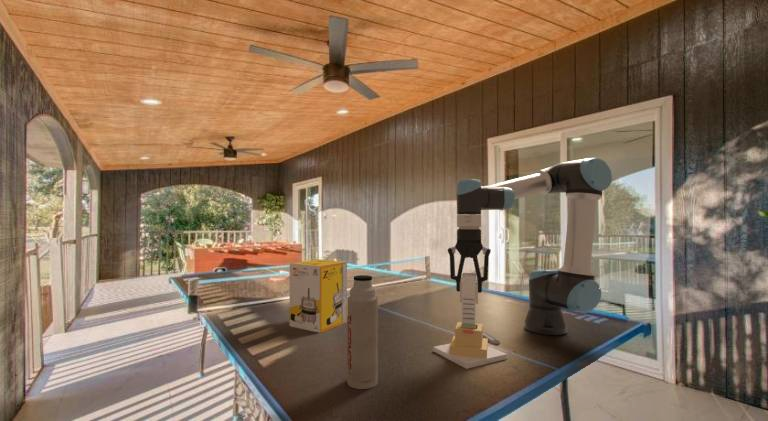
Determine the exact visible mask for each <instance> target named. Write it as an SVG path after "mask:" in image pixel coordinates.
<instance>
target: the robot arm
mask: <svg viewBox="0 0 768 421" xmlns="http://www.w3.org/2000/svg"><path fill="white" fill-rule="evenodd" d="M612 181H613V175H612V171H611V168H610V166H609V165H608V163H607V162H606V161H605V160H604V159H602V158H600V157H586V158H585V157H584V158H583V159H575V160H571V161H570V160H569V161H564V162H559V163H557V164H553V165H551V166H549V167H546V168H543V169H538V170H536V171H535V172H534V173H533V174H529V175H525V176H521V177H518V178H517V177H516V178H513V179H509V180H505V181H504V180H503V181H500V182H496V183H493V184H488V185H484V186H483V185H482V181H481V180H480V179H476V178H465V179H459V180H458V181H457V183H456V184H457V186H456V227H457V228H458V229H457V230H456V243H455V246H452V247H449V248H447V253H448V254H449V272H450V279H451V280H454V281H455V283H456V284H455V285H456V288H455V289H456V292H458V293H459V303H461V304H462V274H463V270H464V267H465V266H464V265H465V260H466V259H467V258H470V259H472V262H473V265H474V266H473V267H474V271H475V273H476V282H475V304H476V305H478V304H479V293H481V294H482V291H483V282H487V281H488V280H489V279H488V278H489V256H490V254H491V250H492V249H491V248H487V247H485V246H483V243H482V230H481V228H482V211H495V210H496V211H497V210H498V211H504V210H510V209H511V208H512V207H513V206H514V204H515V200H518V199H521V198H522V199H523V198H526V197H531V196H534V195H537V194H540V195H547V194H548V195H549V194H554V193H555V194H556V193H557V194H559V193H560V194H561V193H562V194H563V193H565V196H566V197H567V198H568V199H569V200H568V201H569V204H568V215H567V223H566V224H567V225H566V232H565V233H566V236H565V244H564V245H565V246H564V257H563V265H562V266H561V267H560V268H559V269H536V270H535V269H534V270H530V272H529V278H528V302H529V303H528V304H529V305H528V307H529V308H528V311H527V314H526V318H525V320H524V329H525V330H527V331H528V332H530V333H531V332H532V333H535V334H540V335H547V336H561V335H562V336H563V335H565V334H567V333H568V325H567V323H566V320H565V315H564V313H563V309H566V310H568V311H571V312H576V313H577V312H578V313H581V314H587V313H590V312H592V311H594V309H596V308H597V307H598V305H599V303H600V300H601V298H602V289H601V287H600V284H599V283H598V282H596V280H595V277H596V276H595V273H594V272H593V271H592V270H591V265H592V257H593V256H592V254H593V243H594V232H595V224H596V223H595V221H596V213H597V202H598V201H599V200H601V199H602V198H603V191H606V190H607V189H608V188H609V187H610V186H611V185H612ZM456 251H457V252H458V254H459V256H460V260H459V264H458V270H457V274H456V263H455V262H456V261H455V254H456ZM481 251H482V254H483V255H484V257H483V259H484V260H483V261H484V262H483V276H482V272H481V268H480V265H479V264H480V263H479V259H478V255H479V254H480V253H481Z"/></svg>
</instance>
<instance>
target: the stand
mask: <svg viewBox="0 0 768 421" xmlns="http://www.w3.org/2000/svg"><path fill="white" fill-rule="evenodd" d="M483 331H484V324H483V323H477V322H476V329H467V328H462V321H461V322H460V321H458V322H457V323H456V326H455V329H454V335H453V337H452V339H451V342H450V343H445V344H440V345H435V346H433V352H434V353H436V354H438V355H440V356H441V357H444V358H445V359H447V360H449V361H451V362H453V363H455V364H457V365H458V366H460V367H462V368H464V369H466V370H467V369H471V368H477V367H481V366H484V365H487V364H492V363H495V362H501V361H504V360H508V354H507V353H505V352H503V351H501V350H498V349H496V348H494V347H492V346H489V343H488V342H489V341H488V339H487V338H483Z"/></svg>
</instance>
